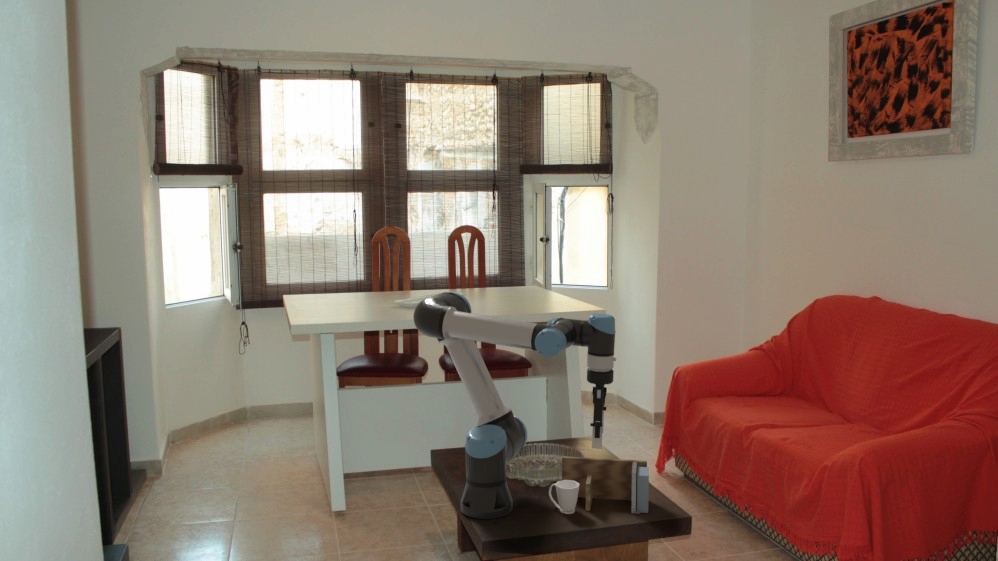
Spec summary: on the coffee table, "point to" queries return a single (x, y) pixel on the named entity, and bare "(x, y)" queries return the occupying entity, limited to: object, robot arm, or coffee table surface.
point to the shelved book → (643, 489)
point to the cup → (566, 495)
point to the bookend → (634, 489)
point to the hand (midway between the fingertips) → (597, 440)
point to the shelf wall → (601, 476)
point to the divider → (588, 492)
